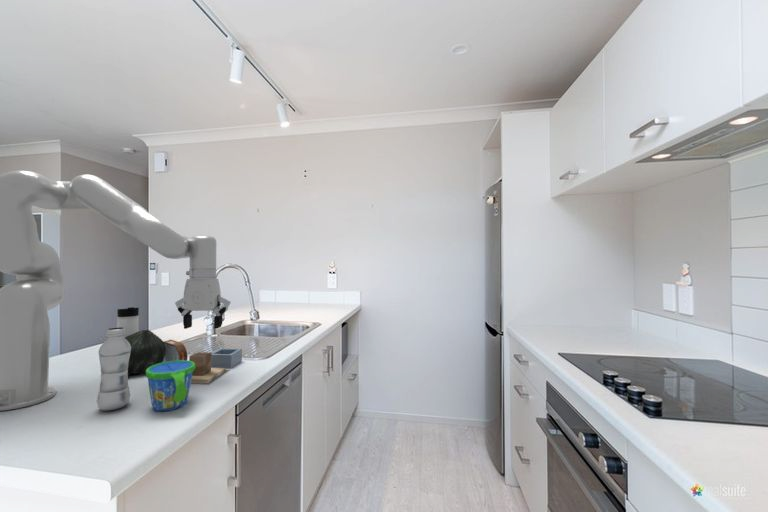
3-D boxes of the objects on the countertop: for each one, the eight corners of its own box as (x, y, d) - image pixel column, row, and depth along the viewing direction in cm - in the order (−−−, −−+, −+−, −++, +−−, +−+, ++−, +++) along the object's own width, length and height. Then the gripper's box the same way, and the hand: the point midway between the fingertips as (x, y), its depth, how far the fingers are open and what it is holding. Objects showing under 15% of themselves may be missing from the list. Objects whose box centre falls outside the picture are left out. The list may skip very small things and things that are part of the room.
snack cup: (200, 410, 81) (201, 369, 81) (149, 424, 74) (150, 379, 74) (186, 391, 92) (187, 355, 93) (141, 401, 85) (142, 362, 85)
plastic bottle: (102, 416, 77) (105, 332, 77) (92, 409, 80) (94, 328, 81) (134, 406, 82) (136, 327, 83) (123, 400, 86) (125, 324, 86)
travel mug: (118, 365, 114) (120, 308, 115) (113, 361, 118) (115, 306, 119) (140, 361, 119) (141, 306, 120) (134, 357, 123) (135, 305, 124)
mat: (208, 385, 96) (209, 384, 97) (165, 385, 97) (166, 383, 97) (230, 371, 110) (230, 370, 110) (192, 370, 110) (192, 369, 110)
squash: (109, 353, 110) (112, 324, 103) (162, 347, 120) (168, 321, 113) (107, 390, 102) (110, 362, 95) (164, 381, 111) (171, 355, 104)
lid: (207, 383, 98) (208, 359, 98) (171, 382, 98) (172, 359, 98) (225, 370, 109) (226, 350, 109) (193, 370, 109) (194, 349, 109)
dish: (231, 369, 111) (231, 355, 111) (208, 369, 111) (208, 354, 111) (241, 362, 119) (241, 348, 119) (220, 362, 119) (220, 348, 119)
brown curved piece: (188, 367, 113) (188, 343, 113) (178, 370, 110) (179, 345, 110) (167, 360, 121) (167, 337, 121) (157, 362, 118) (158, 339, 118)
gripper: (168, 275, 100) (168, 330, 100) (223, 275, 100) (223, 330, 100) (183, 274, 108) (183, 325, 107) (235, 274, 107) (235, 325, 107)
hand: (202, 327), depth 104 cm, fingers open, 9 cm apart
